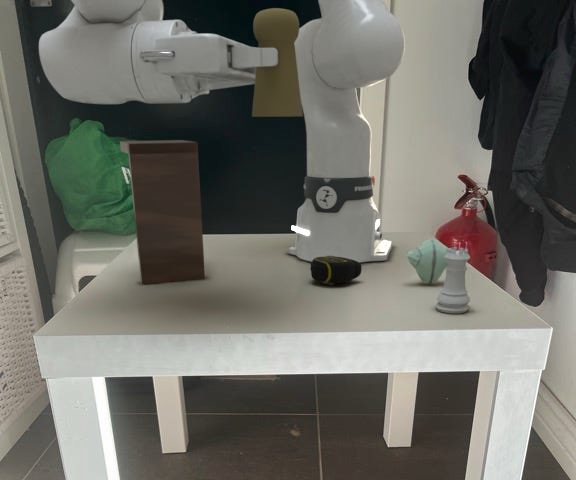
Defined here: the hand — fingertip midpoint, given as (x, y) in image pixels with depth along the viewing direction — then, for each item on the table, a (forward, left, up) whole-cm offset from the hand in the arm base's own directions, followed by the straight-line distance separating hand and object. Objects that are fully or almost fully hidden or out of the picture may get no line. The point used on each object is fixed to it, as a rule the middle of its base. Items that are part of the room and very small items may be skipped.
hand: (284, 59), depth 73 cm
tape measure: (-19, 0, -30) cm, 35 cm away
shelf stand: (-13, -27, -30) cm, 43 cm away
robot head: (-23, +14, -30) cm, 40 cm away
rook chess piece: (-10, +20, -30) cm, 37 cm away
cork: (0, -1, -6) cm, 6 cm away
